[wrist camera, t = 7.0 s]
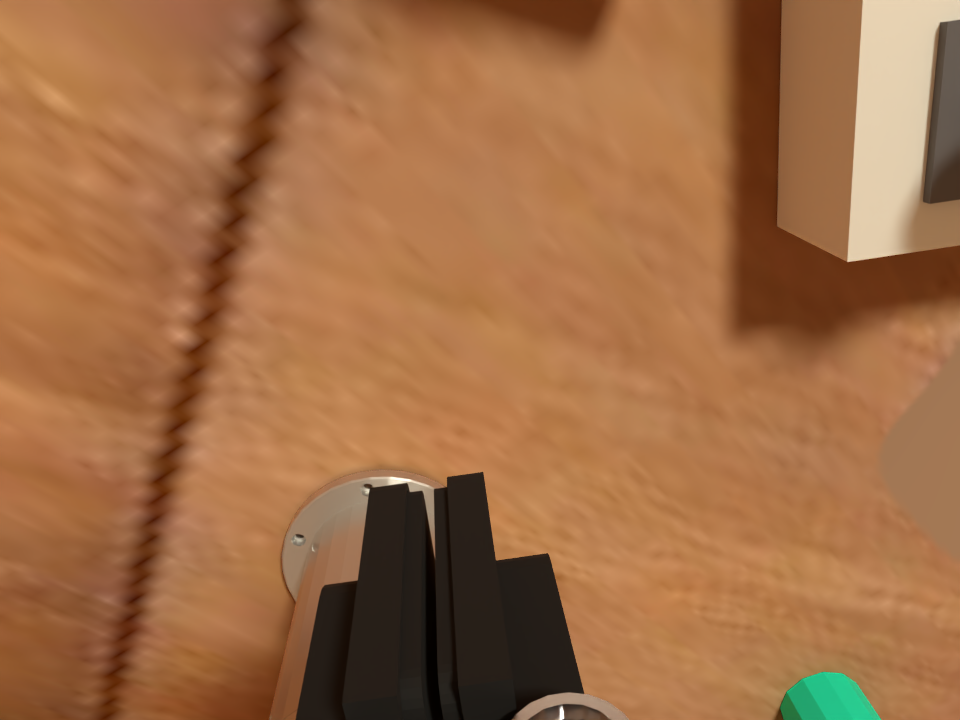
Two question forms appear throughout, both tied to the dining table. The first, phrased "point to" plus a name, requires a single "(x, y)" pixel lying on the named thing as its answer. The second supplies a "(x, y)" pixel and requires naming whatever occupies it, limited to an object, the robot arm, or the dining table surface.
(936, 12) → the socket block
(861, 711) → the candle
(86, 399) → the dining table surface
